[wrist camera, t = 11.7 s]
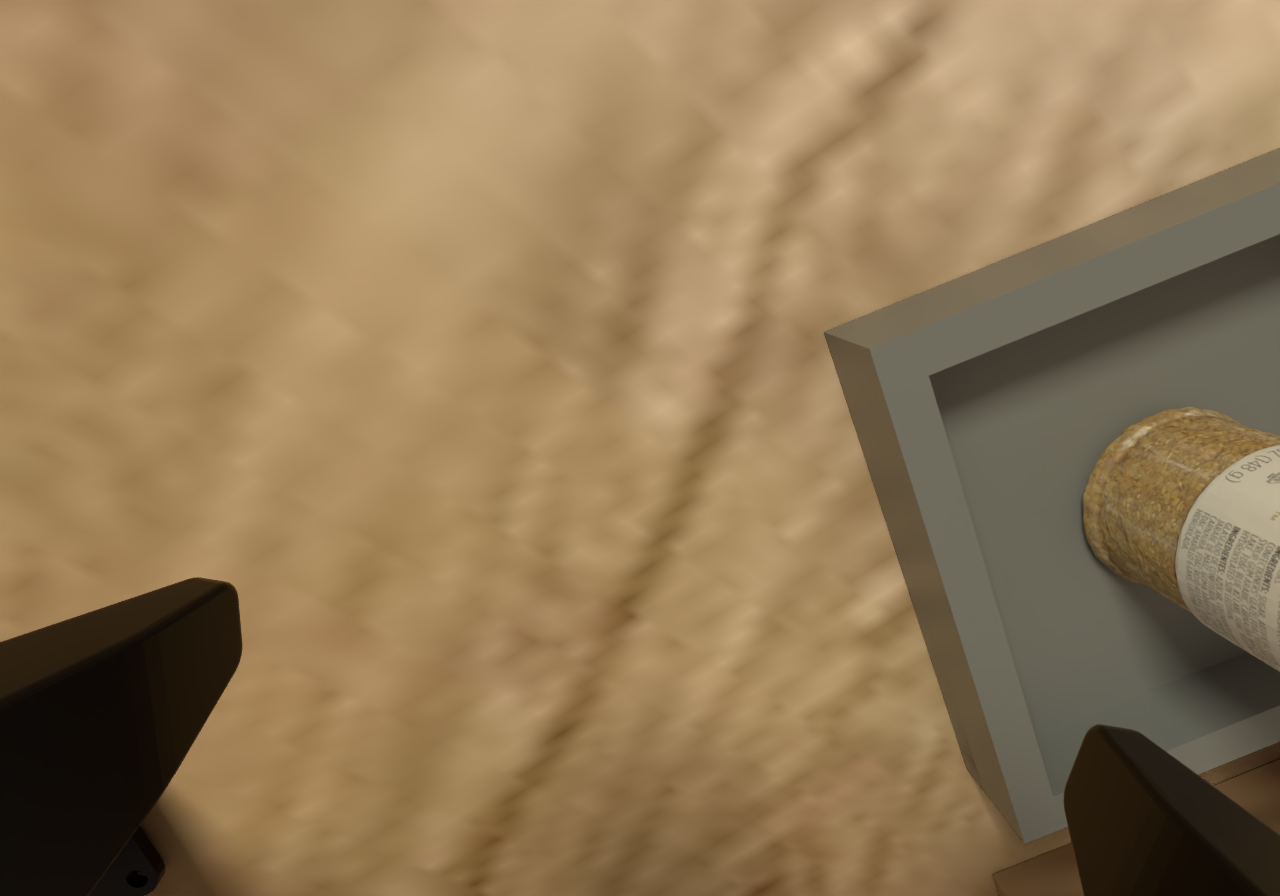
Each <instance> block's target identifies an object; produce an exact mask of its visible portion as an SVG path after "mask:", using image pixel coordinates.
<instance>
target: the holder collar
mask: <svg viewBox="0 0 1280 896" xmlns="http://www.w3.org/2000/svg"><path fill="white" fill-rule="evenodd" d="M1214 787H1215V788H1217V789H1218V790H1220V791H1221V792H1222V793H1224V794H1225V795H1226V796H1228V797H1229V798H1231V799H1232V800H1233V801H1235V802H1236V803H1237V804H1239V805H1240V806H1241V807H1243V808H1244V809H1246V810H1247V811H1248V812H1250V813H1251V814H1252V815H1254V816H1255V817H1256V818H1258V819H1259V820H1261V821H1262V822H1263V823H1265V824H1266V825H1267V826H1269V827H1270V828H1272V829H1273V830H1274V831H1276V832H1277V833H1278V834H1280V759H1279V760H1277V761H1274V762H1272V763H1269V764H1267V765H1264V766H1262V767H1259V768H1257V769H1254V770H1252V771H1249V772H1247V773H1244V774H1242V775H1239V776H1237V777H1234V778H1232V779H1229V780H1227V781H1224V782H1222V783H1219V784H1217V785H1214ZM993 878H994V881H995V884H996V887H997V890H998V894H999V896H1084V894H1083V890H1082V885H1081V881H1080V877H1079V872H1078V868H1077V864H1076V859H1075V855H1074V851H1073V846H1072V843H1070V844H1068V845H1065V846H1063V847H1060V848H1058V849H1055V850H1053V851H1050V852H1048V853H1045V854H1043V855H1040V856H1038V857H1035V858H1033V859H1030V860H1028V861H1025V862H1023V863H1020V864H1018V865H1015V866H1013V867H1010V868H1008V869H1005V870H1003V871H1001V872H998V873H996V874H993Z"/></svg>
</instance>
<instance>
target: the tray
mask: <svg viewBox="0 0 1280 896" xmlns="http://www.w3.org/2000/svg"><path fill="white" fill-rule="evenodd" d="M824 334H825V337H826V340H827V343H828V346H829V349H830V353H831V356H832V359H833V362H834V365H835V368H836V371H837V374H838V377H839V380H840V383H841V386H842V389H843V392H844V395H845V398H846V401H847V404H848V408H849V411H850V414H851V417H852V420H853V423H854V426H855V429H856V432H857V435H858V438H859V441H860V444H861V447H862V450H863V453H864V456H865V459H866V463H867V466H868V469H869V472H870V475H871V478H872V481H873V484H874V487H875V490H876V493H877V496H878V499H879V502H880V505H881V508H882V511H883V514H884V518H885V521H886V524H887V527H888V530H889V533H890V536H891V539H892V542H893V545H894V548H895V551H896V554H897V557H898V560H899V563H900V566H901V569H902V573H903V576H904V579H905V582H906V585H907V588H908V591H909V594H910V597H911V600H912V603H913V606H914V609H915V612H916V615H917V618H918V621H919V625H920V628H921V631H922V634H923V637H924V640H925V643H926V646H927V649H928V652H929V655H930V658H931V661H932V664H933V667H934V670H935V673H936V676H937V680H938V683H939V686H940V689H941V692H942V695H943V698H944V701H945V704H946V707H947V710H948V713H949V716H950V719H951V722H952V725H953V728H954V731H955V735H956V738H957V741H958V744H959V747H960V750H961V753H962V756H963V759H964V762H965V765H966V768H967V770H968V771H969V772H970V774H971V775H972V776H973V777H974V779H975V780H976V781H977V783H978V784H979V785H980V787H981V788H982V789H983V790H984V792H985V793H986V794H987V796H988V797H989V798H990V800H991V801H992V802H993V803H994V805H995V806H996V807H997V809H998V810H999V811H1000V813H1001V814H1002V815H1003V816H1004V818H1005V819H1006V820H1007V822H1008V823H1009V824H1010V826H1011V827H1012V828H1013V829H1014V831H1015V832H1016V833H1017V835H1018V836H1019V837H1020V839H1021V840H1022V841H1023V843H1024V844H1027V843H1029V842H1031V841H1034V840H1036V839H1039V838H1041V837H1044V836H1046V835H1049V834H1051V833H1054V832H1056V831H1059V830H1061V829H1064V828H1066V827H1068V824H1067V820H1066V816H1065V811H1064V801H1063V800H1064V789H1065V785H1066V782H1067V779H1068V777H1069V774H1070V772H1071V769H1072V767H1073V764H1074V762H1075V759H1076V756H1077V754H1078V751H1079V749H1080V746H1081V744H1082V741H1083V739H1084V736H1085V734H1086V732H1087V731H1088V730H1089V729H1090V728H1091V727H1092V726H1095V725H1097V724H1102V725H1108V726H1114V727H1120V728H1127V729H1133V730H1135V731H1138V732H1140V733H1142V734H1143V735H1144V736H1146V737H1147V738H1149V739H1150V740H1151V741H1153V742H1154V743H1155V744H1157V745H1158V746H1159V747H1161V748H1162V749H1164V750H1165V751H1166V752H1168V753H1169V754H1170V755H1172V756H1173V757H1174V758H1176V759H1177V760H1179V761H1180V762H1181V763H1183V764H1184V765H1185V766H1187V767H1188V768H1190V769H1191V770H1192V771H1194V772H1195V773H1196V774H1201V773H1203V772H1206V771H1208V770H1210V769H1213V768H1215V767H1218V766H1220V765H1223V764H1225V763H1228V762H1230V761H1233V760H1235V759H1238V758H1240V757H1243V756H1245V755H1248V754H1250V753H1253V752H1255V751H1258V750H1260V749H1263V748H1265V747H1268V746H1270V745H1273V744H1275V743H1278V742H1280V672H1279V671H1277V670H1276V669H1274V668H1272V667H1271V666H1269V665H1267V664H1266V663H1264V662H1263V661H1261V660H1259V659H1258V658H1256V657H1255V656H1253V655H1251V654H1250V653H1248V652H1246V651H1245V650H1243V649H1241V648H1240V647H1238V646H1237V645H1235V644H1233V643H1232V642H1230V641H1228V640H1227V639H1225V638H1224V637H1222V636H1220V635H1219V634H1217V633H1216V632H1214V631H1213V630H1211V629H1210V628H1208V627H1207V626H1205V625H1204V624H1202V623H1201V622H1200V621H1199V620H1198V619H1197V618H1196V617H1195V616H1194V615H1193V614H1192V613H1190V612H1189V611H1187V610H1186V609H1183V608H1182V607H1180V606H1179V605H1177V604H1175V603H1173V602H1172V601H1170V600H1168V599H1167V598H1165V597H1163V596H1162V595H1160V594H1159V593H1157V592H1155V591H1154V590H1152V589H1150V588H1149V587H1147V586H1146V585H1142V584H1137V583H1134V582H1131V581H1129V580H1127V579H1125V578H1123V577H1121V576H1119V575H1117V574H1116V573H1114V572H1113V571H1112V570H1110V569H1109V568H1108V567H1107V566H1106V565H1105V564H1104V563H1103V562H1101V561H1100V560H1099V559H1098V558H1097V557H1095V554H1094V552H1093V550H1092V548H1091V546H1090V545H1089V543H1088V540H1087V538H1086V534H1085V530H1084V525H1083V493H1084V491H1085V488H1086V485H1087V483H1088V480H1089V476H1090V474H1091V472H1092V470H1093V469H1094V467H1095V464H1096V462H1097V460H1098V459H1099V457H1100V456H1101V454H1102V453H1103V451H1104V450H1105V449H1106V448H1107V447H1108V445H1109V444H1110V443H1111V442H1113V441H1114V440H1115V439H1116V438H1117V437H1118V436H1119V435H1120V434H1121V433H1122V431H1123V430H1125V429H1126V428H1128V427H1129V426H1131V425H1132V424H1135V423H1137V422H1140V421H1141V420H1142V419H1144V418H1146V417H1149V416H1151V415H1154V414H1156V413H1159V412H1162V411H1165V410H1168V409H1180V408H1186V407H1194V408H1199V409H1206V410H1211V411H1216V412H1219V413H1222V414H1224V415H1226V416H1228V417H1230V418H1232V419H1234V420H1235V421H1237V422H1239V423H1240V424H1241V425H1244V426H1247V427H1250V428H1252V429H1256V430H1259V431H1262V432H1266V433H1272V434H1275V435H1279V436H1280V148H1279V149H1276V150H1274V151H1271V152H1269V153H1266V154H1264V155H1261V156H1259V157H1256V158H1254V159H1251V160H1249V161H1246V162H1244V163H1242V164H1239V165H1237V166H1234V167H1232V168H1229V169H1227V170H1224V171H1222V172H1219V173H1217V174H1214V175H1212V176H1209V177H1207V178H1204V179H1202V180H1199V181H1197V182H1194V183H1192V184H1190V185H1187V186H1185V187H1182V188H1180V189H1177V190H1175V191H1172V192H1170V193H1167V194H1165V195H1162V196H1160V197H1157V198H1155V199H1152V200H1150V201H1147V202H1145V203H1143V204H1140V205H1138V206H1135V207H1133V208H1130V209H1128V210H1125V211H1123V212H1120V213H1118V214H1115V215H1113V216H1110V217H1108V218H1105V219H1103V220H1100V221H1098V222H1096V223H1093V224H1091V225H1088V226H1086V227H1083V228H1081V229H1078V230H1076V231H1073V232H1071V233H1068V234H1066V235H1063V236H1061V237H1058V238H1056V239H1053V240H1051V241H1048V242H1046V243H1044V244H1041V245H1039V246H1036V247H1034V248H1031V249H1029V250H1026V251H1024V252H1021V253H1019V254H1016V255H1014V256H1011V257H1009V258H1006V259H1004V260H1001V261H999V262H997V263H994V264H992V265H989V266H987V267H984V268H982V269H979V270H977V271H974V272H972V273H969V274H967V275H964V276H962V277H959V278H957V279H954V280H952V281H950V282H947V283H945V284H942V285H940V286H937V287H935V288H932V289H930V290H927V291H925V292H922V293H920V294H917V295H915V296H912V297H910V298H907V299H905V300H902V301H900V302H898V303H895V304H893V305H890V306H888V307H885V308H883V309H880V310H878V311H875V312H873V313H870V314H868V315H865V316H863V317H860V318H858V319H855V320H853V321H851V322H848V323H846V324H843V325H841V326H838V327H836V328H833V329H831V330H828V331H826V332H824Z"/></svg>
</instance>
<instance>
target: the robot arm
mask: <svg viewBox="0 0 1280 896" xmlns="http://www.w3.org/2000/svg"><path fill="white" fill-rule="evenodd" d="M241 654H242V635H241V624H240V612H239V601H238V594H237V591H236V589H235V587H234V586H233V585H232V584H230V583H229V582H224V581H218V580H212V579H206V578H199V577H198V578H191V579H187V580H184V581H181V582H178V583H175V584H172V585H169V586H166V587H163V588H161V589H158V590H155V591H152V592H149V593H146V594H143V595H140V596H137V597H134V598H131V599H128V600H125V601H122V602H119V603H116V604H113V605H110V606H107V607H104V608H101V609H98V610H95V611H92V612H89V613H86V614H83V615H80V616H77V617H74V618H71V619H68V620H65V621H62V622H59V623H56V624H53V625H50V626H47V627H44V628H41V629H38V630H35V631H33V632H30V633H27V634H24V635H21V636H18V637H15V638H12V639H9V640H6V641H3V642H0V896H144V895H146V894H148V893H150V892H151V891H153V890H154V889H155V887H156V886H157V884H158V883H159V881H160V879H161V878H162V876H163V874H164V873H165V864H164V862H163V860H162V858H161V857H160V855H159V854H158V852H157V851H156V849H155V848H154V846H153V845H152V843H151V842H150V840H149V839H148V837H147V836H146V834H145V833H144V831H143V830H142V828H141V827H140V824H141V823H142V822H143V820H144V819H145V818H146V816H147V815H148V814H149V812H150V811H151V809H152V808H153V806H154V805H155V804H156V802H157V801H158V799H159V798H160V796H161V795H162V794H163V792H164V791H165V789H166V787H167V786H168V784H169V783H170V781H171V779H172V778H173V776H174V775H175V773H176V772H177V770H178V768H179V766H180V765H181V763H182V761H183V760H184V758H185V756H186V755H187V753H188V751H189V749H190V748H191V746H192V744H193V743H194V741H195V739H196V738H197V736H198V734H199V732H200V731H201V729H202V727H203V726H204V724H205V722H206V721H207V719H208V717H209V715H210V714H211V712H212V710H213V709H214V707H215V705H216V704H217V702H218V700H219V698H220V697H221V695H222V693H223V692H224V690H225V688H226V687H227V685H228V683H229V681H230V680H231V678H232V676H233V675H234V673H235V671H236V669H237V667H238V665H239V662H240V659H241ZM1063 801H1064V811H1065V816H1066V820H1067V824H1068V829H1069V833H1070V837H1071V842H1072V846H1073V851H1074V855H1075V859H1076V864H1077V868H1078V872H1079V877H1080V881H1081V885H1082V890H1083V894H1084V896H1280V834H1278V833H1277V832H1276V831H1274V830H1273V829H1272V828H1270V827H1269V826H1267V825H1266V824H1265V823H1263V822H1262V821H1261V820H1259V819H1258V818H1256V817H1255V816H1254V815H1252V814H1251V813H1250V812H1248V811H1247V810H1246V809H1244V808H1243V807H1241V806H1240V805H1239V804H1237V803H1236V802H1235V801H1233V800H1232V799H1231V798H1229V797H1228V796H1226V795H1225V794H1224V793H1222V792H1221V791H1220V790H1218V789H1217V788H1215V787H1214V786H1213V785H1211V784H1210V783H1209V782H1207V781H1206V780H1205V779H1203V778H1202V777H1200V776H1199V775H1198V774H1196V773H1195V772H1194V771H1192V770H1191V769H1190V768H1188V767H1187V766H1185V765H1184V764H1183V763H1181V762H1180V761H1179V760H1177V759H1176V758H1174V757H1173V756H1172V755H1170V754H1169V753H1168V752H1166V751H1165V750H1164V749H1162V748H1161V747H1159V746H1158V745H1157V744H1155V743H1154V742H1153V741H1151V740H1150V739H1149V738H1147V737H1146V736H1144V735H1143V734H1142V733H1140V732H1138V731H1135V730H1133V729H1127V728H1120V727H1114V726H1108V725H1102V724H1097V725H1095V726H1092V727H1091V728H1090V729H1089V730H1088V731H1087V732H1086V734H1085V736H1084V739H1083V741H1082V744H1081V746H1080V749H1079V751H1078V754H1077V756H1076V759H1075V762H1074V764H1073V767H1072V769H1071V772H1070V774H1069V777H1068V779H1067V782H1066V785H1065V789H1064V800H1063ZM135 870H138V871H142V872H144V873H145V874H146V875H147V876H143V875H139V874H138V873H137V872H135Z"/></svg>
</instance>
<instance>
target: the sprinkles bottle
mask: <svg viewBox="0 0 1280 896" xmlns="http://www.w3.org/2000/svg"><path fill="white" fill-rule="evenodd" d="M1083 525H1084V530H1085V534H1086V538H1087V540H1088V543H1089V545H1090V546H1091V548H1092V550H1093V552H1094V554H1095V557H1097V558H1098V559H1099V560H1100V561H1101V562H1103V563H1104V564H1105V565H1106V566H1107V567H1108V568H1109V569H1110V570H1112V571H1113V572H1114V573H1116V574H1117V575H1119V576H1121V577H1123V578H1125V579H1127V580H1129V581H1131V582H1134V583H1137V584H1142V585H1146V586H1147V587H1149V588H1150V589H1152V590H1154V591H1155V592H1157V593H1159V594H1160V595H1162V596H1163V597H1165V598H1167V599H1168V600H1170V601H1172V602H1173V603H1175V604H1177V605H1179V606H1180V607H1182V608H1183V609H1186V610H1187V611H1189V612H1190V613H1192V614H1193V615H1194V616H1195V617H1196V618H1197V619H1198V620H1199V621H1200V622H1201V623H1202V624H1204V625H1205V626H1207V627H1208V628H1210V629H1211V630H1213V631H1214V632H1216V633H1217V634H1219V635H1220V636H1222V637H1224V638H1225V639H1227V640H1228V641H1230V642H1232V643H1233V644H1235V645H1237V646H1238V647H1240V648H1241V649H1243V650H1245V651H1246V652H1248V653H1250V654H1251V655H1253V656H1255V657H1256V658H1258V659H1259V660H1261V661H1263V662H1264V663H1266V664H1267V665H1269V666H1271V667H1272V668H1274V669H1276V670H1277V671H1279V672H1280V436H1279V435H1275V434H1272V433H1266V432H1262V431H1259V430H1256V429H1252V428H1250V427H1247V426H1244V425H1241V424H1240V423H1239V422H1237V421H1235V420H1234V419H1232V418H1230V417H1228V416H1226V415H1224V414H1222V413H1219V412H1216V411H1211V410H1206V409H1199V408H1194V407H1186V408H1180V409H1168V410H1165V411H1162V412H1159V413H1156V414H1154V415H1151V416H1149V417H1146V418H1144V419H1142V420H1141V421H1140V422H1137V423H1135V424H1132V425H1131V426H1129V427H1128V428H1126V429H1125V430H1123V431H1122V433H1121V434H1120V435H1119V436H1118V437H1117V438H1116V439H1115V440H1114V441H1113V442H1111V443H1110V444H1109V445H1108V447H1107V448H1106V449H1105V450H1104V451H1103V453H1102V454H1101V456H1100V457H1099V459H1098V460H1097V462H1096V464H1095V467H1094V469H1093V470H1092V472H1091V474H1090V476H1089V480H1088V483H1087V485H1086V488H1085V491H1084V493H1083Z"/></svg>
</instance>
